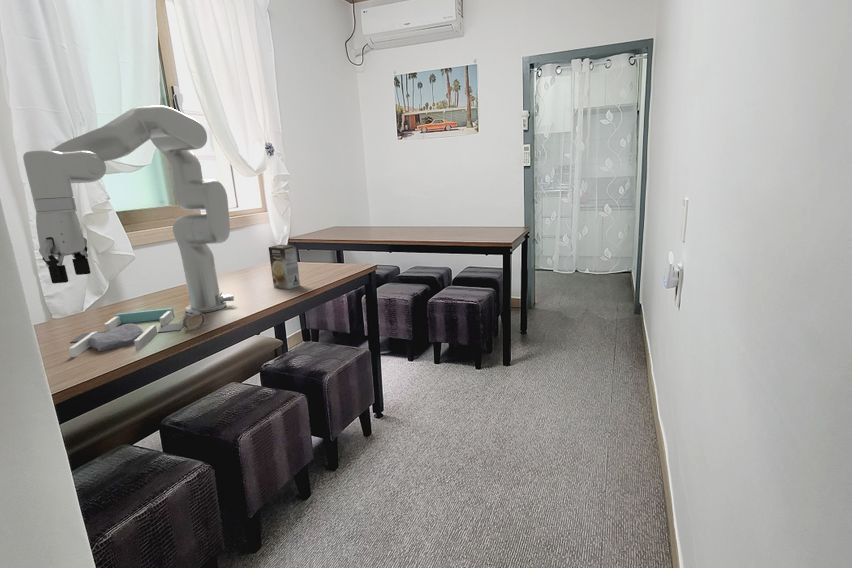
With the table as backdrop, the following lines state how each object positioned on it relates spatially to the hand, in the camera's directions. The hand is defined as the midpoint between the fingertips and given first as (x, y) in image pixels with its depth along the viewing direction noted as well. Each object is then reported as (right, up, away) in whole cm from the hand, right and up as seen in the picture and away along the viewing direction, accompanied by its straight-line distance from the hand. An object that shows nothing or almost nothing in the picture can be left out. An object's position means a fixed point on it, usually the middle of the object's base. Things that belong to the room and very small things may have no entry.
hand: (72, 278), depth 112 cm
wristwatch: (+17, -15, +26) cm, 34 cm away
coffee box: (+30, -3, +72) cm, 78 cm away
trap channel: (-1, -16, +23) cm, 28 cm away
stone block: (0, -18, +17) cm, 25 cm away
